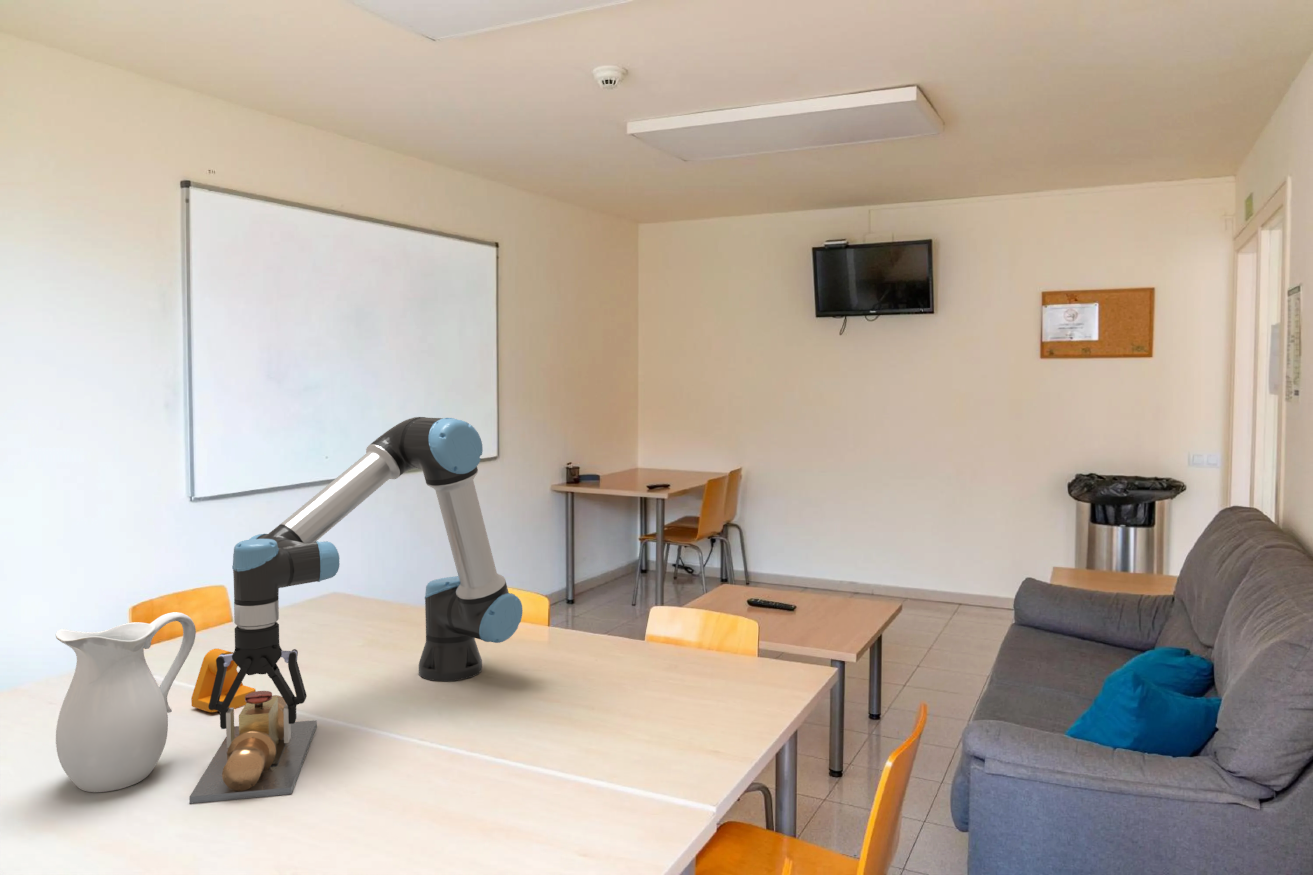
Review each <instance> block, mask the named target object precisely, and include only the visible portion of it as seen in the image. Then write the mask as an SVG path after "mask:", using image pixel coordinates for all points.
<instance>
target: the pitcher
mask: <svg viewBox="0 0 1313 875" xmlns="http://www.w3.org/2000/svg"><path fill="white" fill-rule="evenodd" d="M173 622H178V623H180V625H181V627H182V641H181V644H180V647H179V650H178V651H177V655H176V656H175V658H174V660H173V661H172V663H171V666H170V668H169V669H168V671H167V673H166V674H165V675H164V677H163V679H162V681H161V683H160V685H159V684H158V682H157V680H156V678H155V677H154V674H153V673H152V670H150V667H149V665H148V663H147V661H146V658H145V652H144V651H145V650H147V649H150V648H151V645H152V640H153V638H154V636H155V635H156V634H157V632H159V631H160V630H161V629H162V628H164V626H166V625H168V624H170V623H173ZM196 634H197V630H196V625H195V622H194V621H193V619H192V618H191V617H190V616H189V615H187V614H185V613H183V612H176V611H175V612H173V611H172V612H168V613H164V614H162V615H160V616H158V617H157V618H156V619H154V620H153V621H151V622H150V623H147V622H138V621H137V622H134V621H133V622H127V623H124V624H120V625H116V626H114V627H111V628H109V629H106V630H102V631H94V632H93V631H89V632H87V631H79V630H71V629H67V628H66V629H64V628H63V629H61V628H60V629H59V630H57V631H56V633H55V638H56V639H57V640H58V641H60V642H61V643H62V644H64V645H66V646H67V647H69V648H70V649H72V651H73V652H74V653H75V656H76V666H75V669H74V670H75V671H74V673H73V674H74V675H73V676H72V679H71V682H70V685H69V687H68V689H67V692H66V694H65V696H64V698H63V701H62V705H61V707H60V711H59V714H58V718H57V723H56V729H55V730H56V731H55V745H56V746H55V747H56V753H57V757H58V761H59V763H60V765H61V768H62V769H63V771H64V773H65V774H66V776H67V778H69V780H70V781H71V782H72V783H73V784H74V785H75V786H76V787H77V788H78V789H80V790H82V791H84V792H89V793H107V792H112V791H118V790H121V789H126V788H128V787H131V786H133V785H136V784H137V783H140V782H141V781H144V780H145V779H146V778H147V777H149V775H150V774H151V773H152V772H153V770H154V769H155V767H156V766H157V764H158V762H159V760H160V758H161V757H162V753H163V751H164V748H165V746H166V742H167V739H168V738H167V737H168V733H169V732H168V729H169V717H168V716H169V715H168V714H169V713H172V708H171V707H170V705H169V702H168V695H169V692H170V689H171V687H172V685H173V683H174V681H175V679H176V677H177V676H178V674H179V673H180V670H181V668H182V667H183V665H184V664H185V662H186V660H187V658H188V657H189V654H190V652H191V651H192V649H193V646H194V643H195V640H196Z"/></svg>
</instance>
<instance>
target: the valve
mask: <svg viewBox="0 0 1313 875" xmlns="http://www.w3.org/2000/svg"><path fill="white" fill-rule="evenodd" d="M272 696H273V692H272V691H270V690H257V691H256V692H252V693H249V694H247V695H246V696H245V702H246V705H245V706H243V708H242V709H241V711H240V713H239V714H238V726H239V734H241V733H243V732H246V731H250V730H258V731H262V732H265V733H266V734H268V735H269V736H270V737H271V738H272V739H273V740H274V742H275V745H276V747H277V744H278V742H279V736H278V696H279V695H278V696H274V697H272Z"/></svg>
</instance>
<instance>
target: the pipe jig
mask: <svg viewBox="0 0 1313 875" xmlns="http://www.w3.org/2000/svg"><path fill="white" fill-rule="evenodd" d="M274 696H278V736H279V742H278V744H277V747H276V745H275V742H274V740H273V739H272V738H271V737H270V736H269V735H268V734H266V733H265V732H262V731H258V730H250V731H246V732H243V733H241V734H239V725H237V726H235V725H234V740H233V741H232V743H231V744H230V746H229V748H227V737H226V736H225V738H224V739H223V741H222V743H221V744H220V746H219V747H218V749H217V751H216V753H215V754H214V755H213V757H212V759H211V761H210V762H209V764H208V765H207V767H206V769H205V770H204V771H203V773H202V775H201V777H200V778H199V780H198V781H197V783H196V785H195V787H194V788H193V790H192V792H191V793H190V794H189V798H188V799H189V804H200V803H201V804H202V803H211V802H223V801H233V800H242V799H243V800H244V799H253V798H256V799H257V798H265V797H267V798H268V797H276V796H277V797H278V796H287V795H292V794H293V791H294V789H295V786H296V783H297V780H298V778H299V775H300V772H301V770H302V767H303V764H304V761H305V759H306V756H307V754H308V751H309V748H310V745H311V742H312V740H313V737H314V734H315V732H316V729H317V726H318V724H317V722H318V721H317V720H316V719H315V720H314V719H313V720H305V721H303V720H301V721H295V723H294V724H291V738H290V740H289V743H284V707H285V705H286V702H285V701H284V699H283V697H282V696H281V695H276V694H275V695H273V694H272V697H274Z"/></svg>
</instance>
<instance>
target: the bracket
mask: <svg viewBox="0 0 1313 875" xmlns="http://www.w3.org/2000/svg"><path fill="white" fill-rule="evenodd" d="M222 653H224V654H225V655H227V654H233V653H234V651H233V652H232V651H229V650H225V649H221V648H213V649H211V650H209V651H208V652H207V653H205V655H204V657H203V660H202V663H201V666H200V669H199V673H198V675H197V679H196V682H195V684H194V688H193V692H192V695H191V707H192V708H195V709H199V710H202V711H204V712H208V713H217V712H218V711H217V710H210V709H209V702H210V698H211V694H212V690H213V686H214V682H215V677H216V673H217V665H216V659H217V658H218V656H219V655H220V654H222ZM238 668H239V667H238V665H237V664H236V663H235V662H234V661H233V660H232V661H231V663H230V665H229V666H228V667H227V671H226V675H225V679H224V683H223V687H222V691H221V696H220V700H219V701H221V702H223V701H224V699H225V697H226V695H227V693H228V692H229V690H230V688H231V686H232V684H233V682H234V680H235V678H236V676H237V674H238V672H239V671H238ZM252 692H256V688H255V687H251V686H247V685H244V684H243V682H242V683H241V685H240V686H239V688H238V690H237V692H236V694H235V696H234V698H233V700H232V702H231V703H230V706H229V708H234V710H236V709H238V708H241V707H244V706H245V705H246V702H245V696H246V695H247V694H249V693H252Z"/></svg>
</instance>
